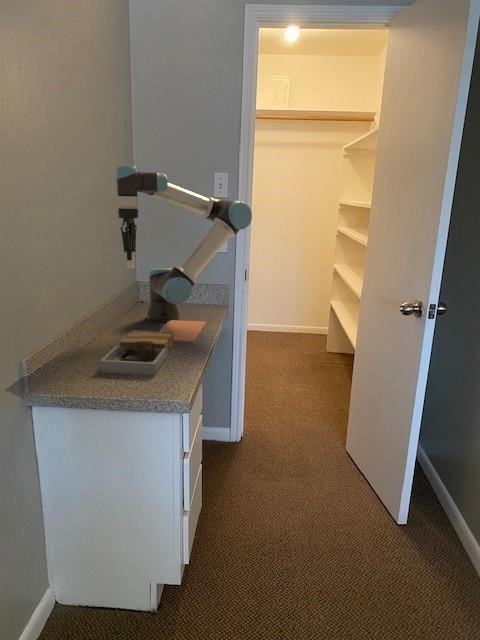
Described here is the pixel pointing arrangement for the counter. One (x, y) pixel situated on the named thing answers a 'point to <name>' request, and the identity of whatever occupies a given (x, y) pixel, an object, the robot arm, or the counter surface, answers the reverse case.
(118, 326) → the counter surface
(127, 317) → the counter surface
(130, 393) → the counter surface
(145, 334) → the walnut stand
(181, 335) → the notebook
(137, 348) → the clothes iron
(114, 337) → the counter surface
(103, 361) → the bin
